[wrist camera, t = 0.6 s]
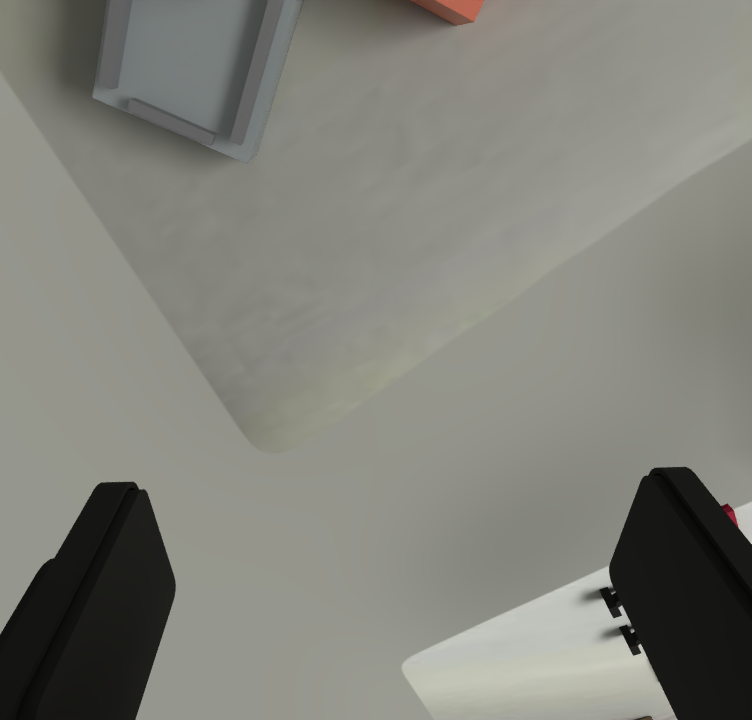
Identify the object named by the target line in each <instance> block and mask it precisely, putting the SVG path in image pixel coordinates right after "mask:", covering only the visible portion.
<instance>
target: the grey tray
mask: <svg viewBox="0 0 752 720" xmlns="http://www.w3.org/2000/svg"><path fill="white" fill-rule="evenodd" d="M302 2H303V0H106V6H105V13H104V20H103V27H102V34H101V41H100V48H99V55H98V62H97V68H96V75H95V82H94V89H93V96H92V98H94V99H96V100H99V101H101V102H103V103H106V104H108V105H111V106H113V107H115V108H118V109H120V110H122V111H125V112H127V113H129V114H132V115H134V116H136V117H139V118H141V119H143V120H146V121H148V122H150V123H153V124H155V125H157V126H160V127H162V128H164V129H167V130H169V131H171V132H174V133H176V134H179V135H181V136H183V137H186V138H188V139H190V140H193V141H195V142H197V143H200V144H202V145H204V146H207V147H209V148H211V149H214V150H216V151H218V152H221V153H223V154H225V155H228V156H230V157H232V158H235V159H237V160H240V161H242V162H244V163H247V164H249V163H250V161H251V160H252V159H253V158H254V157H255V156H256V154H257V151H258V147H259V144H260V141H261V138H262V134H263V131H264V128H265V124H266V121H267V118H268V114H269V111H270V108H271V104H272V101H273V98H274V95H275V91H276V88H277V85H278V81H279V78H280V75H281V71H282V68H283V65H284V61H285V58H286V55H287V52H288V48H289V45H290V42H291V38H292V35H293V32H294V28H295V25H296V22H297V18H298V15H299V12H300V9H301V5H302Z"/></svg>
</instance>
